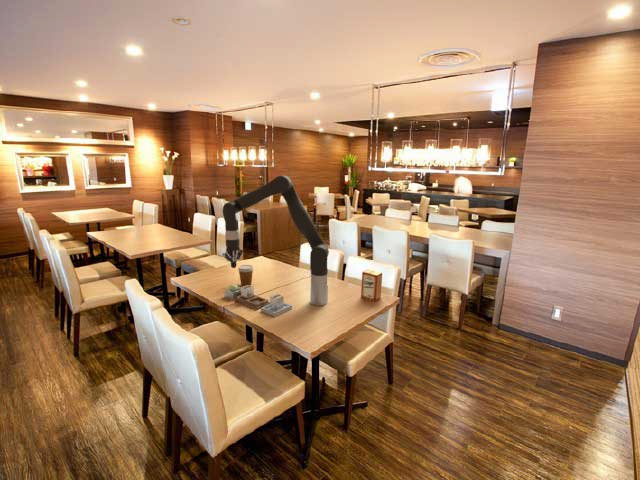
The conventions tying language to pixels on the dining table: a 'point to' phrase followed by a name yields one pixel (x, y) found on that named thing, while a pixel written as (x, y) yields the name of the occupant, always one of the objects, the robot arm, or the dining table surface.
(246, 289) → the block
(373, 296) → the baking soda box
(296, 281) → the dining table surface
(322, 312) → the dining table surface
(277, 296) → the block
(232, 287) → the button
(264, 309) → the tray
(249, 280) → the disposable coffee cup
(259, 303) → the frame
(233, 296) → the grey button housing
